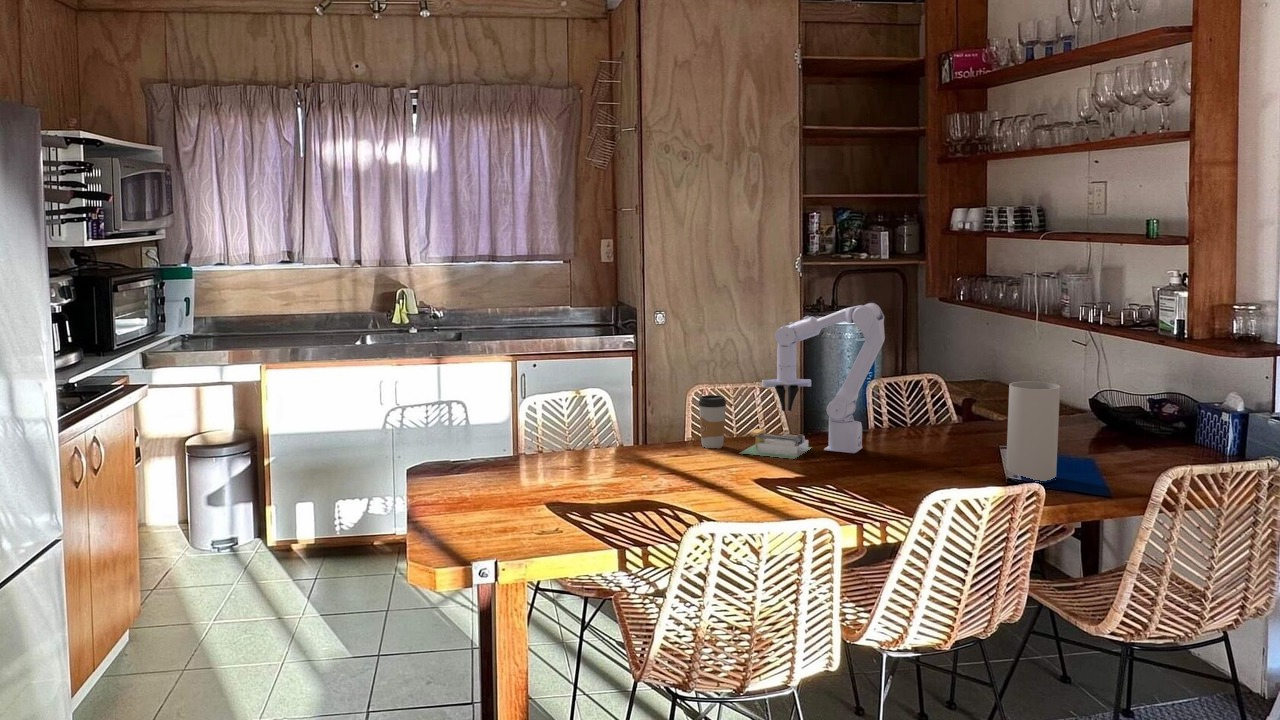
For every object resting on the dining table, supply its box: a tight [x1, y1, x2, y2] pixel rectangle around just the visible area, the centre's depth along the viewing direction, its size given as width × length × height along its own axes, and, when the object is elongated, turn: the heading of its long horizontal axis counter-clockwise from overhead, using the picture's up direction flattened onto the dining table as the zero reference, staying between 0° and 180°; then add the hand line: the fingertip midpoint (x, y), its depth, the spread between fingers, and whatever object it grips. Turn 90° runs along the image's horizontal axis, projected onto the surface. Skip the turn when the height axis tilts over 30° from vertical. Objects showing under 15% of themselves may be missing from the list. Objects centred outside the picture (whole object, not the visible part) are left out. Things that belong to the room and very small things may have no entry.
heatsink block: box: [758, 433, 809, 458], centre depth 339 cm, size 12×10×5 cm
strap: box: [753, 433, 802, 442], centre depth 339 cm, size 14×3×1 cm, turn 63°
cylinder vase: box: [1005, 381, 1061, 483], centre depth 304 cm, size 12×12×25 cm
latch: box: [749, 428, 766, 448], centre depth 342 cm, size 2×5×6 cm, turn 153°
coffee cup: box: [698, 394, 727, 449], centre depth 347 cm, size 8×8×15 cm
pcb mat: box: [738, 443, 814, 460], centre depth 341 cm, size 17×16×1 cm
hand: (786, 410), depth 349 cm, fingers closed
